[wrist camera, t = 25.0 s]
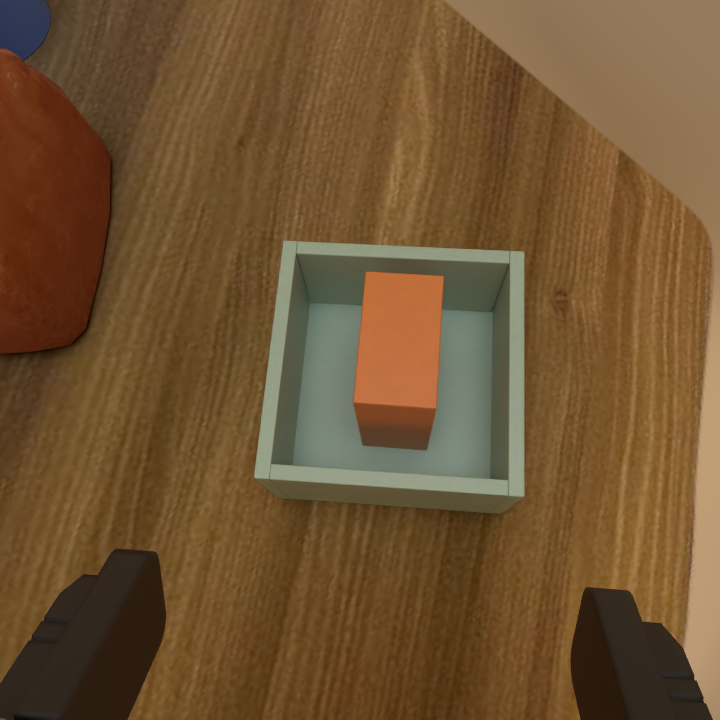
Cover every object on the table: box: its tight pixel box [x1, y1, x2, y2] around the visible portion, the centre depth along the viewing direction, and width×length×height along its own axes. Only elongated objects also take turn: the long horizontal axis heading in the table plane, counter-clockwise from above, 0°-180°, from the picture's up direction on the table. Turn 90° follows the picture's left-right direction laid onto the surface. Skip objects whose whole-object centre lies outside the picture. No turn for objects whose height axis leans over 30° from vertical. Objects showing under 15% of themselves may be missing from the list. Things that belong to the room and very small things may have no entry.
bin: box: [254, 241, 524, 514], centre depth 40 cm, size 14×14×8 cm
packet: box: [353, 271, 444, 450], centre depth 38 cm, size 4×7×10 cm, turn 175°
